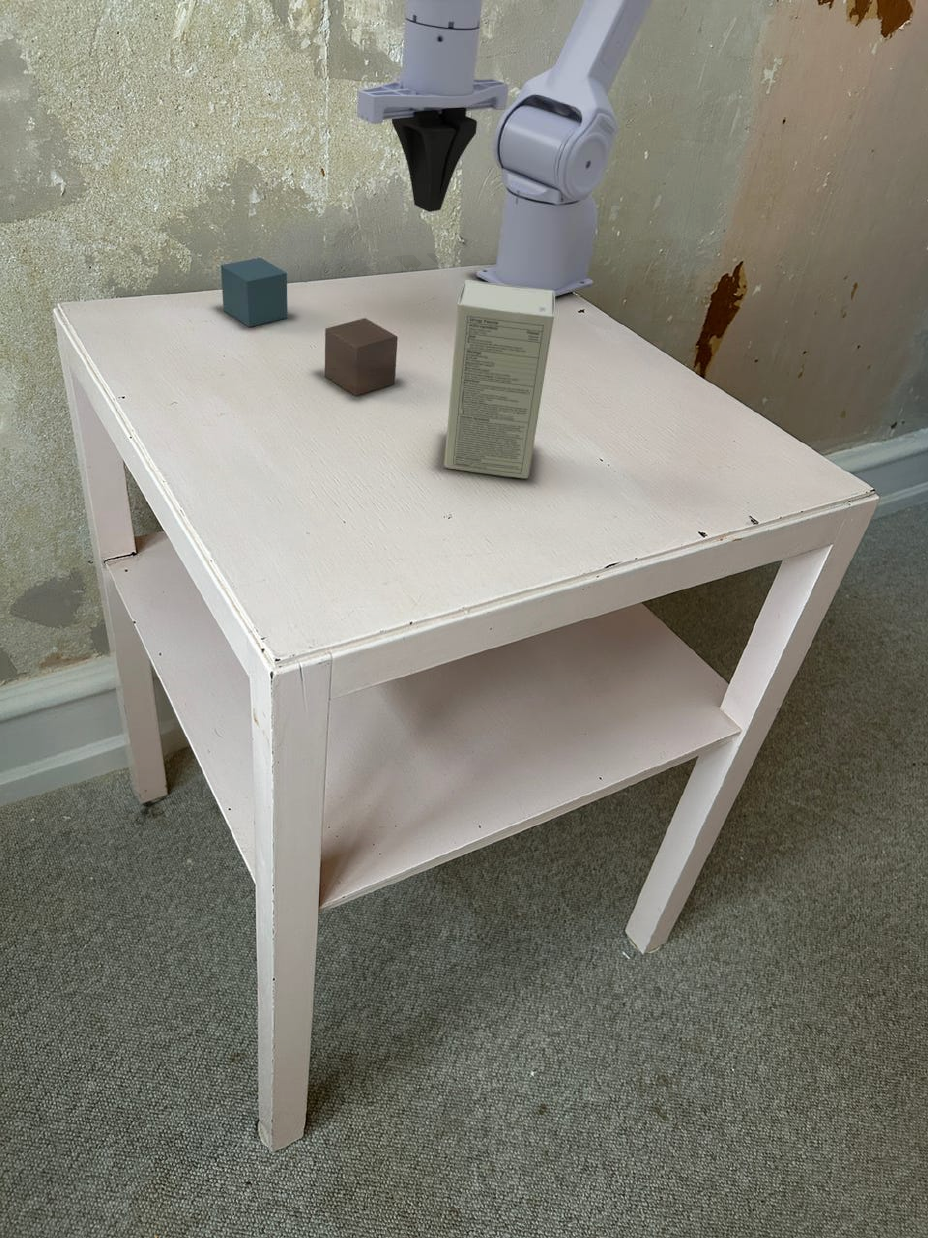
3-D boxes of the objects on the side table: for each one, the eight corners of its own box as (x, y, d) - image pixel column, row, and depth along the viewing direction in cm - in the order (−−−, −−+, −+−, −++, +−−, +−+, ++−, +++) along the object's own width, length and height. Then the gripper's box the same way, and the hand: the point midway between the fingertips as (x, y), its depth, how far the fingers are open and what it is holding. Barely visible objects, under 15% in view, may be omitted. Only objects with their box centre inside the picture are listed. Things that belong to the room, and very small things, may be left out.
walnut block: (363, 364, 78) (365, 317, 75) (394, 383, 76) (398, 336, 73) (324, 376, 75) (324, 328, 73) (355, 396, 73) (357, 347, 71)
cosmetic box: (530, 450, 70) (559, 289, 62) (528, 482, 67) (558, 316, 59) (446, 438, 70) (464, 276, 62) (439, 469, 67) (457, 301, 59)
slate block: (261, 301, 85) (260, 256, 82) (287, 317, 83) (287, 272, 80) (223, 310, 83) (220, 264, 80) (249, 327, 81) (247, 281, 78)
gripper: (473, 9, 78) (456, 182, 87) (334, 12, 70) (330, 204, 79) (535, 27, 75) (511, 206, 83) (396, 33, 66) (385, 231, 75)
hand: (427, 207), depth 81 cm, fingers closed
